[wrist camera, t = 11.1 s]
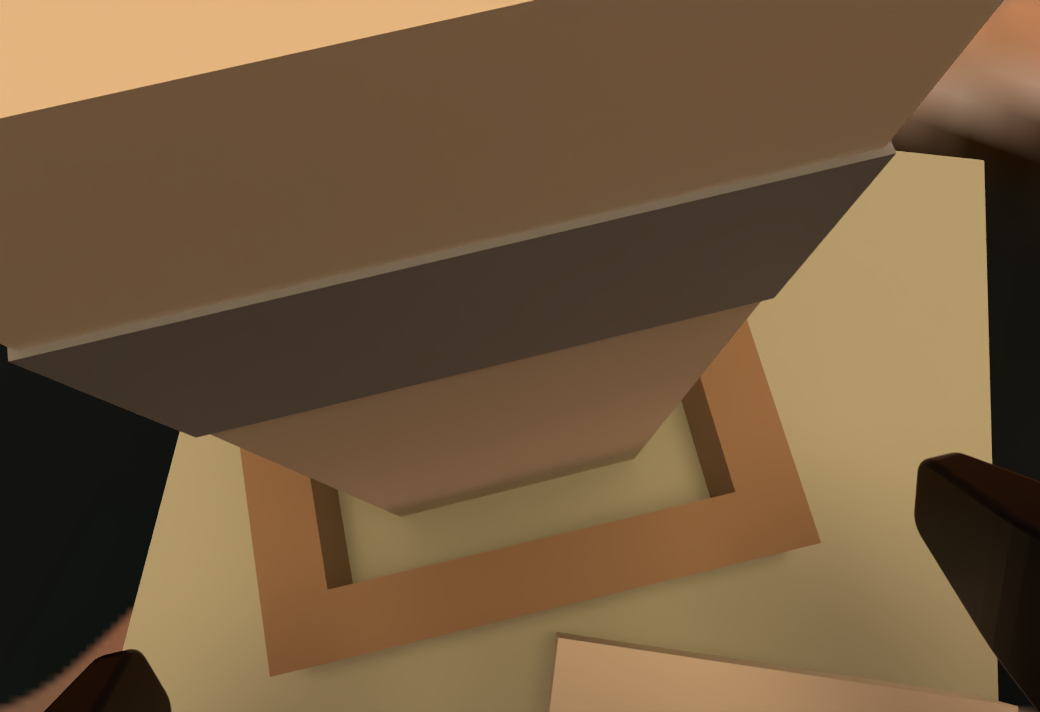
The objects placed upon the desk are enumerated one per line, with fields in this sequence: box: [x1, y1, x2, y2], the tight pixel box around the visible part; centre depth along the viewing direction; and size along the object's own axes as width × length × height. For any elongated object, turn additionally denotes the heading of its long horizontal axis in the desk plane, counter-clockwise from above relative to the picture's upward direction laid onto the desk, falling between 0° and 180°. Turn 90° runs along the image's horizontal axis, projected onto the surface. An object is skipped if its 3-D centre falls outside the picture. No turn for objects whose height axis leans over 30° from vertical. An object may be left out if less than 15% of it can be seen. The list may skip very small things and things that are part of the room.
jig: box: [122, 151, 998, 712], centre depth 16 cm, size 15×17×3 cm
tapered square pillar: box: [0, 0, 1003, 517], centre depth 10 cm, size 5×5×15 cm
